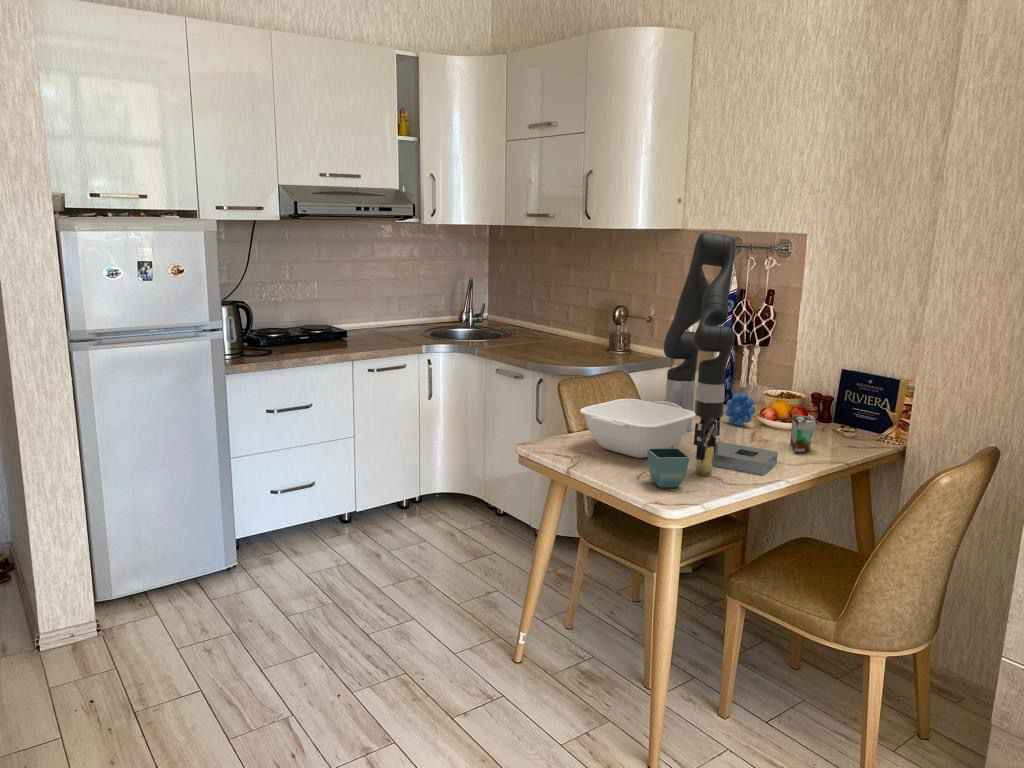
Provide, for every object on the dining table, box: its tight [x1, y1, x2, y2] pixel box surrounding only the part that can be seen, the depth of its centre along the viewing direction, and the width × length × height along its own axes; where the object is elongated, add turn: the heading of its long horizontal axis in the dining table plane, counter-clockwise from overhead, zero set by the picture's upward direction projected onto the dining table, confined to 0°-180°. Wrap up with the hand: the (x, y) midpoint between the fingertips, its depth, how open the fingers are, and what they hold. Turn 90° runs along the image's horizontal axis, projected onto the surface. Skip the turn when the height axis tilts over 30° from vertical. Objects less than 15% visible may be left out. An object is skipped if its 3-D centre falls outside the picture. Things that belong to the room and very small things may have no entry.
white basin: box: [579, 398, 697, 459], centre depth 237 cm, size 34×28×13 cm
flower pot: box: [647, 447, 690, 489], centre depth 206 cm, size 9×9×9 cm
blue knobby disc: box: [724, 392, 756, 427], centre depth 269 cm, size 12×7×12 cm, turn 39°
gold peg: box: [695, 445, 714, 478], centre depth 216 cm, size 4×4×8 cm
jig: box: [706, 440, 779, 476], centre depth 226 cm, size 18×14×6 cm
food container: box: [789, 413, 817, 455], centre depth 241 cm, size 12×6×10 cm, turn 168°
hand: (705, 455), depth 215 cm, fingers open, 8 cm apart
